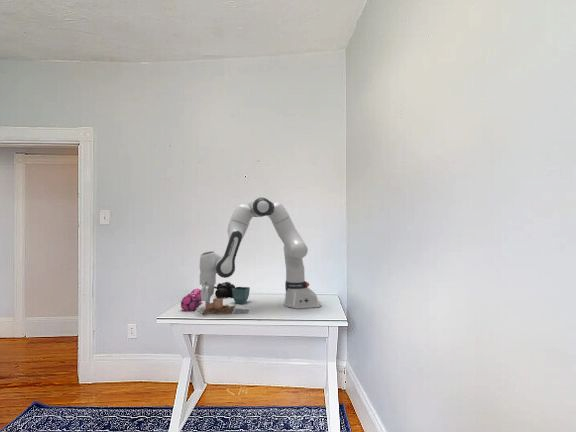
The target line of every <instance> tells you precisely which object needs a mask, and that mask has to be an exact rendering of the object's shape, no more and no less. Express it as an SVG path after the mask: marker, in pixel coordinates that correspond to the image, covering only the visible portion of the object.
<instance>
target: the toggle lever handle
mask: <svg viewBox="0 0 576 432" xmlns="http://www.w3.org/2000/svg"><path fill="white" fill-rule="evenodd" d="M204 304H205V309H209V308H213V309H223V306H224V298H217V297H216V298H213V299H212V302H210V303H208V304H206V303H204Z"/></svg>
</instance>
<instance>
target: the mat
mask: <svg viewBox="0 0 576 432" xmlns="http://www.w3.org/2000/svg"><path fill="white" fill-rule="evenodd" d="M249 312H250V308H234V310H233V314H234V315H235V314H249Z"/></svg>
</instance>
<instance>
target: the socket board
mask: <svg viewBox="0 0 576 432" xmlns="http://www.w3.org/2000/svg"><path fill="white" fill-rule="evenodd" d="M235 307H236V306H235V305H228V304H227V305H224V304H223V309H213V308H209V309H206V308H205V309H204V311H203V312H202V315H232V314H234V311H235Z"/></svg>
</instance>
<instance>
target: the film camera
mask: <svg viewBox="0 0 576 432" xmlns="http://www.w3.org/2000/svg"><path fill="white" fill-rule="evenodd" d="M235 287H236V285H235V284H232V283H231V282H230V281H225V282H223V283H221V282H220V283H217V284H216V286H215V285H214V295H215V297H216V298H222V299H227V298H230V299H233V293H232V289H234V288H235ZM215 289H216V290H215Z"/></svg>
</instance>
